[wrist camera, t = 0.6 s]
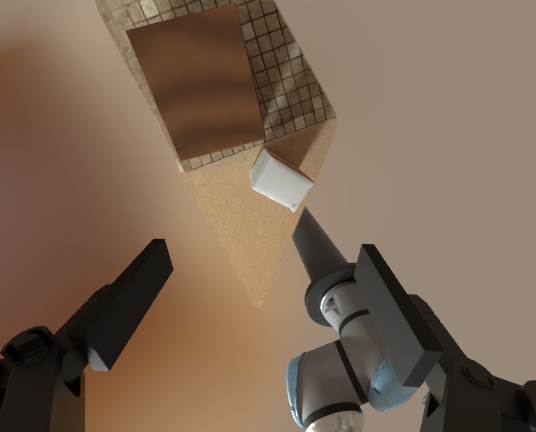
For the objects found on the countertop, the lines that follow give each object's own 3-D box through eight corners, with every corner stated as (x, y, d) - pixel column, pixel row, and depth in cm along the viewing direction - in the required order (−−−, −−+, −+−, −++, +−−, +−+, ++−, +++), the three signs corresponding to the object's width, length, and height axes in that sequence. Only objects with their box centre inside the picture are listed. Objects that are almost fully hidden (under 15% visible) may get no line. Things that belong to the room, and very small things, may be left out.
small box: (298, 168, 41) (316, 183, 31) (283, 192, 42) (295, 213, 33) (264, 146, 38) (271, 155, 29) (248, 172, 40) (251, 189, 30)
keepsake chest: (260, 134, 37) (266, 138, 28) (195, 151, 37) (180, 161, 28) (237, 36, 31) (235, 1, 22) (159, 57, 31) (125, 30, 22)
